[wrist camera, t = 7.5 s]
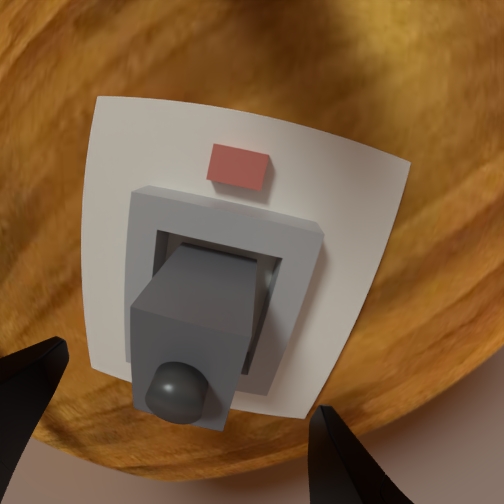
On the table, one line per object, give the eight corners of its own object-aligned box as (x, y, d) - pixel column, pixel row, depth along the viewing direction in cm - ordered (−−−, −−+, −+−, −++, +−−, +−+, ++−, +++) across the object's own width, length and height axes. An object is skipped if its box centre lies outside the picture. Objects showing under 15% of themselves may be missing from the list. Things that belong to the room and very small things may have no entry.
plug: (236, 336, 16) (218, 455, 9) (174, 321, 16) (124, 430, 8) (257, 254, 14) (249, 365, 7) (185, 238, 14) (113, 329, 7)
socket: (303, 407, 19) (306, 440, 16) (98, 358, 19) (80, 385, 16) (400, 160, 13) (431, 165, 10) (108, 98, 13) (76, 91, 10)
